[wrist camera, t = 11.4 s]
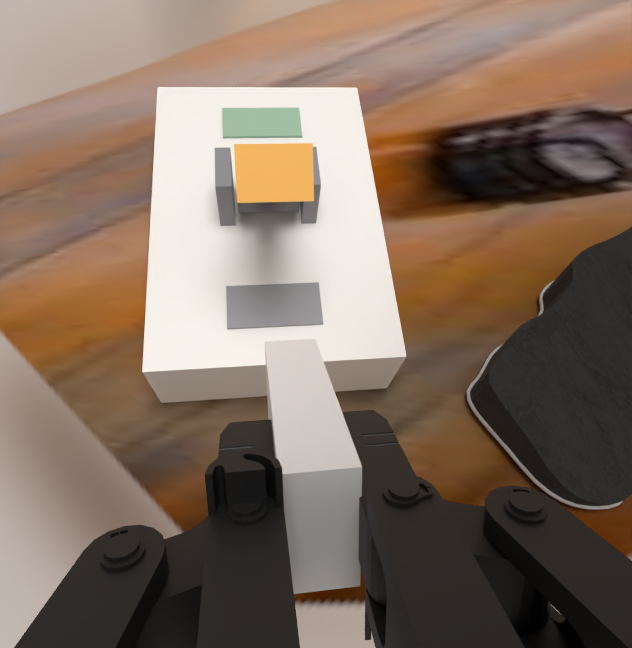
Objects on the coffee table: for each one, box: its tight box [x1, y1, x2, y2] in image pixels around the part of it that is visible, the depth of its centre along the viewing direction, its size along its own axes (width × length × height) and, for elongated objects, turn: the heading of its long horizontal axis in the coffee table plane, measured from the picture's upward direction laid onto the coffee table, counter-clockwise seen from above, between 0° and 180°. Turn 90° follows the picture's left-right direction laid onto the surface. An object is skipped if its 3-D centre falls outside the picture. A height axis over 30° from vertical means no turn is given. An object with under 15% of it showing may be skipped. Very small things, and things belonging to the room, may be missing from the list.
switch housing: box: [142, 87, 406, 403], centre depth 38 cm, size 16×24×10 cm, turn 5°
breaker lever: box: [234, 143, 314, 214], centre depth 30 cm, size 4×4×13 cm
